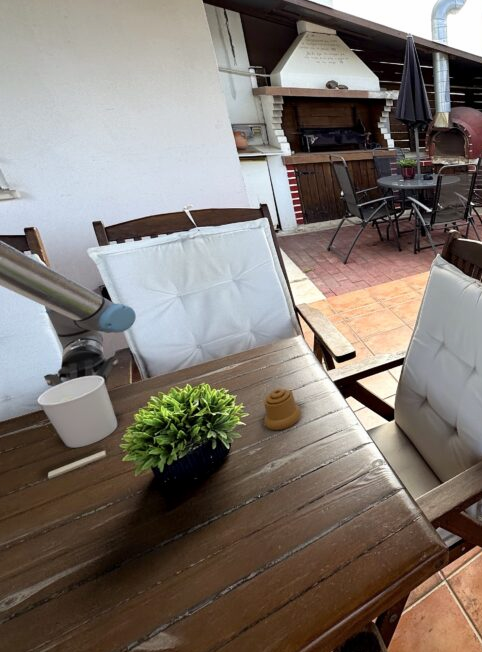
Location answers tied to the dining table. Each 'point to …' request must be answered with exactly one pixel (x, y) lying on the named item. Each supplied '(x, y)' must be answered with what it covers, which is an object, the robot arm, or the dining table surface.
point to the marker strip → (76, 464)
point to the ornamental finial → (281, 410)
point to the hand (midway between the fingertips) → (82, 399)
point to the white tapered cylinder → (80, 410)
